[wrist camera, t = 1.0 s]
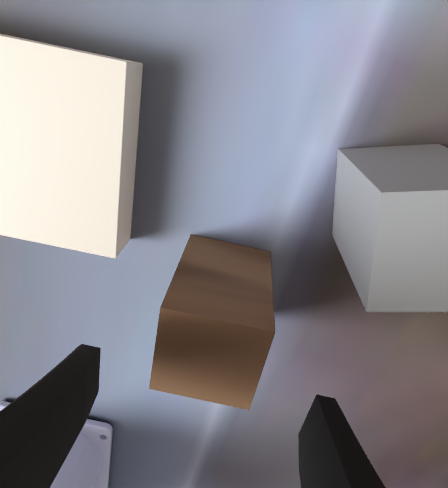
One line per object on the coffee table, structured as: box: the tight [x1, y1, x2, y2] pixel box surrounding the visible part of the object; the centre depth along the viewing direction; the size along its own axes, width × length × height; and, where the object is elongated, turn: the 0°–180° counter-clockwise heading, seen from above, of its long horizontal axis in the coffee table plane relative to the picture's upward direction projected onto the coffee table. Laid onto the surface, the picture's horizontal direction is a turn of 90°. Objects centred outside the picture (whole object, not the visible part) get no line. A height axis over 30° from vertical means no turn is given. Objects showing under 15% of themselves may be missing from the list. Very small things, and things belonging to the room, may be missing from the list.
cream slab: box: [0, 34, 143, 258], centre depth 15 cm, size 8×8×2 cm
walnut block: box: [149, 235, 275, 410], centre depth 16 cm, size 4×4×6 cm
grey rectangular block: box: [332, 144, 448, 312], centre depth 13 cm, size 4×4×6 cm
